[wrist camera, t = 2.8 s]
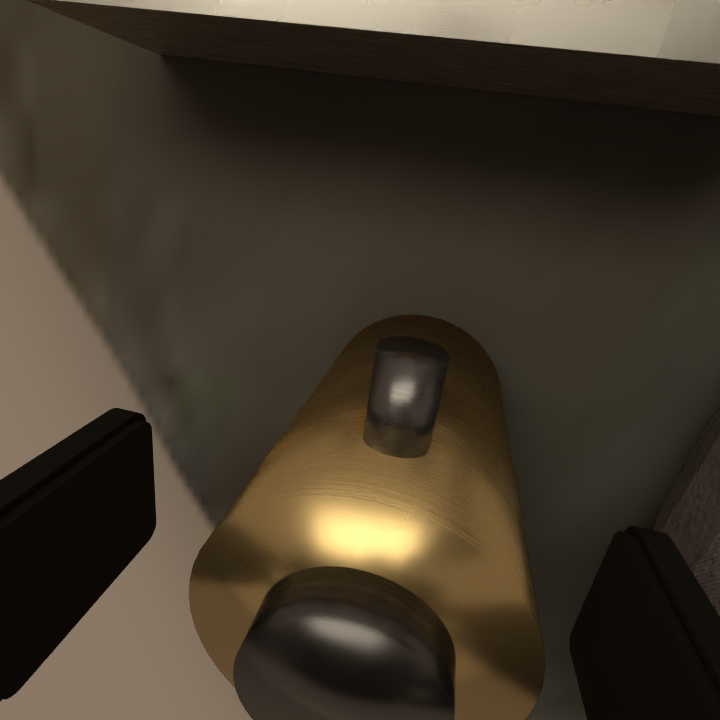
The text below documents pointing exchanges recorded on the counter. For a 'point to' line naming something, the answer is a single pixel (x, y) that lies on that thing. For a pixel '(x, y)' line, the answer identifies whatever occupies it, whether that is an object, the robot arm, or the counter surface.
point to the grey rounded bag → (698, 512)
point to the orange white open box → (448, 42)
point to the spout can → (380, 547)
